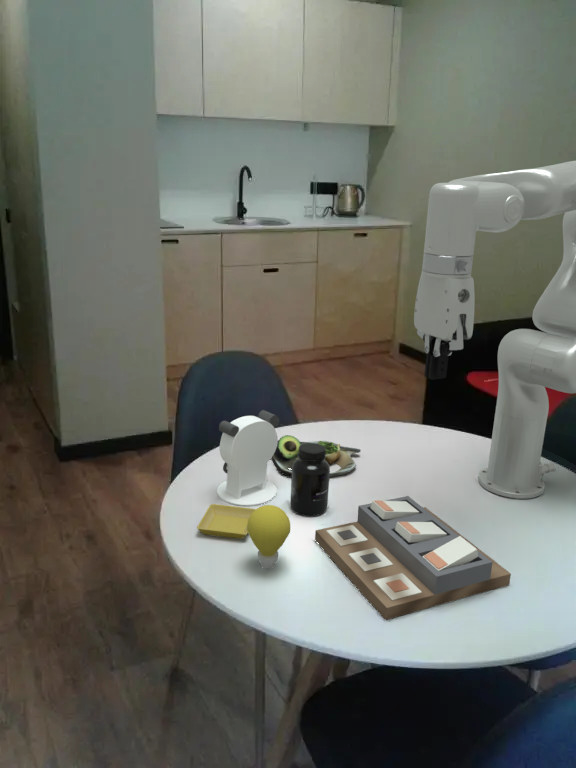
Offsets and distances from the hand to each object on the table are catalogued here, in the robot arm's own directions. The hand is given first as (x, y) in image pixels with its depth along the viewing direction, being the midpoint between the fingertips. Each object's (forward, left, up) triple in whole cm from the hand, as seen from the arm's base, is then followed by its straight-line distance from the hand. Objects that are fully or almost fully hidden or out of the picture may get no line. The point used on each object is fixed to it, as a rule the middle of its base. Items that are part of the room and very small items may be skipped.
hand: (435, 377), depth 110 cm
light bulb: (+30, +2, -27) cm, 41 cm away
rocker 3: (+7, +17, -22) cm, 29 cm away
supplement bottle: (+16, -12, -27) cm, 34 cm away
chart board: (+9, +10, -27) cm, 30 cm away
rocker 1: (+7, +2, -22) cm, 23 cm away
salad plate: (+7, -30, -28) cm, 41 cm away
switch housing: (+7, +9, -25) cm, 28 cm away
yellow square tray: (+32, -11, -28) cm, 44 cm away
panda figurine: (+24, -22, -27) cm, 42 cm away
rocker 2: (+7, +10, -22) cm, 25 cm away
